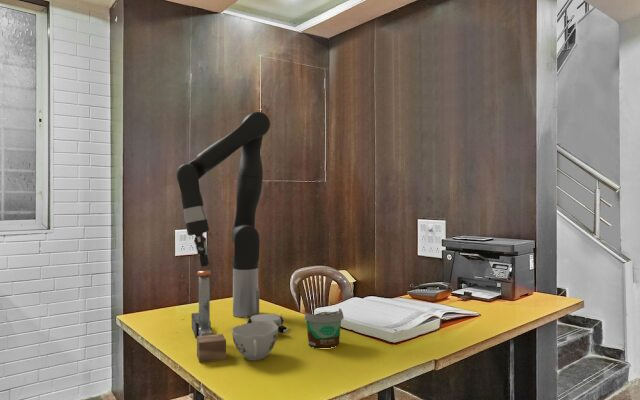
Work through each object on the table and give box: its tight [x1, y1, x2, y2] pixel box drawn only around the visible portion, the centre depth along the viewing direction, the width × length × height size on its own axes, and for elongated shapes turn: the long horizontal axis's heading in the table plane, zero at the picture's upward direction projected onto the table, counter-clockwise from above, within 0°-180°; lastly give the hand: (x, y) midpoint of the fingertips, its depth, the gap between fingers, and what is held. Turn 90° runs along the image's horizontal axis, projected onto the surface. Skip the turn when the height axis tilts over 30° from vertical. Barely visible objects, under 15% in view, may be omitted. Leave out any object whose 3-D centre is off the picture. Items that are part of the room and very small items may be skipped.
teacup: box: [231, 322, 279, 361], centre depth 124 cm, size 15×12×8 cm
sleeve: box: [191, 312, 212, 339], centre depth 149 cm, size 13×5×5 cm, turn 21°
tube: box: [196, 269, 213, 336], centre depth 144 cm, size 22×4×20 cm, turn 21°
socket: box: [196, 333, 227, 364], centre depth 125 cm, size 6×7×5 cm
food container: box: [303, 308, 344, 349], centre depth 134 cm, size 12×6×10 cm, turn 117°
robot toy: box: [245, 313, 290, 334], centre depth 148 cm, size 12×4×15 cm
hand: (205, 265), depth 161 cm, fingers open, 8 cm apart
